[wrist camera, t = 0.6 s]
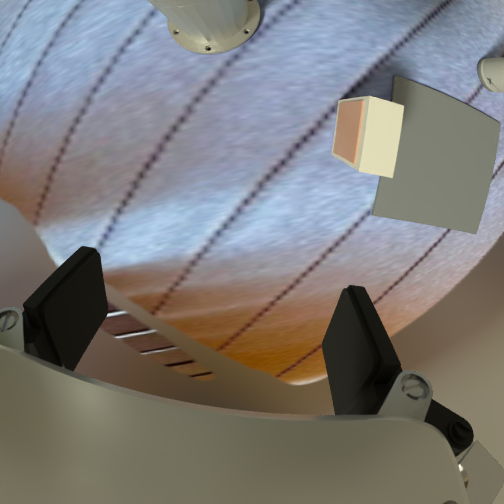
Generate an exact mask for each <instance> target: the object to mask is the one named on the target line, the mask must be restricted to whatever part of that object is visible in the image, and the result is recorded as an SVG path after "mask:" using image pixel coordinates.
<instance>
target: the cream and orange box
mask: <svg viewBox="0 0 504 504" xmlns="http://www.w3.org/2000/svg"><path fill="white" fill-rule="evenodd" d="M403 111H404V106H403V105H400V104H397V103H393V102H390V101H387V100H383V99H380V98H376V97H372V96H364V97H357V98H350V99H343V100H339V101H338V109H337V118H336V126H335V133H334V141H333V148H332V155H333V156H335V157H336V158H338V159H340V160H341V161H343V162H345V163H346V164H348V165H349V166H351V167H353V168H354V169H356V170H357V171H359V172H364V173H370V174H375V175H380V176H385V177H389V178H393V174H394V168H395V163H396V158H397V152H398V146H399V140H400V133H401V127H402V119H403Z"/></svg>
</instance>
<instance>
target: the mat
mask: <svg viewBox="0 0 504 504" xmlns="http://www.w3.org/2000/svg"><path fill="white" fill-rule="evenodd" d="M391 102H393V103H397V104H400V105H403V106H404V111H403V119H402V127H401V133H400V140H399V146H398V152H397V158H396V163H395V168H394V174H393V178H389V177H385V176H380V178H379V183H378V188H377V193H376V197H375V202H374V206H373V211H372V215H373V216H379V217H385V218H391V219H398V220H404V221H410V222H415V223H421V224H427V225H432V226H438V227H443V228H448V229H453V230H458V231H463V232H468V233H473V234H476V233H477V230H478V227H479V224H480V220H481V217H482V214H483V210H484V207H485V203H486V199H487V196H488V192H489V187H490V183H491V179H492V174H493V169H494V164H495V159H496V153H497V147H498V140H499V132H500V123H499V122H497V121H495V120H494V119H492V118H490V117H488V116H487V115H485V114H483V113H481V112H479V111H477V110H476V109H474V108H472V107H470V106H468V105H466V104H464V103H462V102H460V101H458V100H456V99H454V98H451V97H449V96H447V95H445V94H443V93H440V92H438V91H436V90H433V89H431V88H428V87H426V86H423V85H421V84H418V83H416V82H413V81H410V80H407V79H405V78H402V77H399V76H396V75H394V79H393V91H392V100H391Z"/></svg>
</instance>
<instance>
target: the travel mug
mask: <svg viewBox="0 0 504 504" xmlns="http://www.w3.org/2000/svg"><path fill="white" fill-rule="evenodd" d="M477 70H478V75H479V78H480V81H481V83H482V84H483V86H484V87H485V88H486V89H487V90H489V91H492V92H503V93H504V57H501V58H485V59H481V60H480V61H479V63H478V67H477Z"/></svg>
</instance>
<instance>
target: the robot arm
mask: <svg viewBox="0 0 504 504" xmlns="http://www.w3.org/2000/svg"><path fill="white" fill-rule="evenodd" d="M147 1H149V2H150V3H151V4H152V5H153V6H154V7H156V8H157V9H158V10H159V11H160V12H161V13H162V14H163V15H164V16H166V17H167V18H168V29H169V32H170V34H171V36H172V38H173V39H174V40H175V41H176V42H177V43H178V44H179V45H180V46H182V47H183V48H185V49H186V50H189V51H191V52H194V53H199V54H209V55H212V54H220V53H224V52H228V51H230V50H233V49H235V48H237V47H239V46H240V45H242V44H243V43H245V42H246V41H247V40H248V39H249V38H250V37H251V36H252V35H253V33H254V32H255V31H256V29H257V26H258V24H259V20H260V7H259V3H258V1H257V0H252V1H249V0H147ZM177 32H179V33H178V34H177V35H176V33H177ZM245 32H249V33H248V34H245ZM208 48H211V50H210V51H208ZM23 307H24V312H23V313H22V312H21V311H20V310H19V309H17V308H14V307H9V308H5V309H2V310H0V504H492V502H493V501H494V499H495V498H496V496H497V494H498V493H499V491H500V489H501V488H502V486H503V483H504V469H503V468H502V466H501V465H500V464H499V463H498V462H497V461H496V459H495V458H494V457H493V456H492V455H491V454H490V453H489V452H488V451H487V450H486V449H485V448H484V447H483V445H482V444H481V443H480V442H479V441H478V440H477V441H475V442H474V441H473V437H474V434H473V430H472V427H471V425H470V424H469V423H468V421H466V420H465V419H464V418H462V417H460V416H459V415H457V414H456V413H454V412H452V411H451V410H449V409H447V408H446V407H444V406H443V405H441V404H439V403H438V402H436V401H434V400H433V399H432V396H433V389H432V385H431V383H430V382H429V380H428V379H427V378H426V377H425V376H423V375H422V374H421V373H418V372H416V371H411V370H408V371H404V372H403V371H402V368H401V366H400V365H401V364H400V361H399V359H398V357H397V355H396V352H395V350H394V348H393V345H392V343H391V341H390V339H389V337H388V334H387V332H386V330H385V328H384V326H383V324H382V322H381V320H380V317H379V315H378V313H377V311H376V309H375V307H374V305H373V303H372V301H371V299H370V297H369V295H368V293H367V291H366V289H365V288H364V287H362V286H354V285H349V286H348V287H347V288H344V289H343V290H342V293H341V295H340V298H339V301H338V304H337V306H336V309H335V311H334V314H333V317H332V319H331V322H330V324H329V327H328V329H327V332H326V334H325V336H324V339H323V342H322V350H323V355H324V359H325V364H326V369H327V374H328V379H329V384H330V389H331V394H332V400H333V406H334V411H335V415H299V414H298V415H297V414H277V413H262V412H252V411H242V410H233V409H226V408H218V407H212V406H205V405H199V404H193V403H187V402H182V401H177V400H172V399H167V398H163V397H158V396H154V395H150V394H146V393H142V392H138V391H134V390H130V389H127V388H123V387H119V386H116V385H112V384H109V383H106V382H102V381H99V380H96V379H93V378H90V377H87V376H84V375H81V374H78V373H76V372H73V371H74V369H75V368H76V366H77V364H78V362H79V361H80V359H81V357H82V355H83V354H84V352H85V350H86V349H87V347H88V345H89V344H90V342H91V340H92V339H93V337H94V335H95V334H96V332H97V330H98V329H99V327H100V326H101V324H102V322H103V321H104V319H105V318H106V316H107V314H108V303H107V297H106V292H105V285H104V279H103V272H102V265H101V257H100V254H99V253H98V252H97V250H96V249H95V248H92V247H86V246H82V247H80V248H79V249H78V250H77V251H76V252H75V253H74V254H73V255H71V256H70V257H69V258H68V259H67V260H66V261H65V262H64V263H63V264H62V265H61V266H60V267H59V268H58V269H57V270H56V271H55V272H54V273H53V274H52V275H51V276H50V277H49V278H48V279H47V280H46V281H45V282H44V283H43V284H42V285H41V286H40V287H39V288H38V289H37V290H36V291H35V292H34V293H33V294H32V295H31V296H30V297H29V298H28V299H27V300H26V301H25V302H24V304H23Z"/></svg>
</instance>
